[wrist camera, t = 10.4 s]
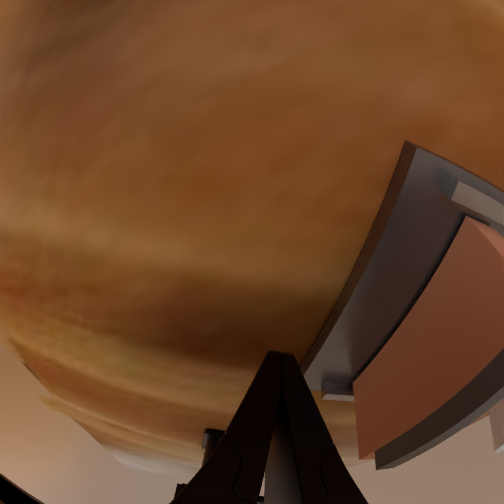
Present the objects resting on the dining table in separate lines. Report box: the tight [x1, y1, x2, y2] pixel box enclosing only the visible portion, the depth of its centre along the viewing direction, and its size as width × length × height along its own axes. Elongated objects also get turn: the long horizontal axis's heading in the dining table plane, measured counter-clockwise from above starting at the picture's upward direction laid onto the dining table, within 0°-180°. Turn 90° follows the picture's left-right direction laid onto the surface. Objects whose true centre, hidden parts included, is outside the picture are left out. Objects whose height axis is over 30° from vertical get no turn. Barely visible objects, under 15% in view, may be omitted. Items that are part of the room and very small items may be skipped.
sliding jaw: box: [353, 216, 504, 470], centre depth 9 cm, size 11×2×6 cm, turn 169°
